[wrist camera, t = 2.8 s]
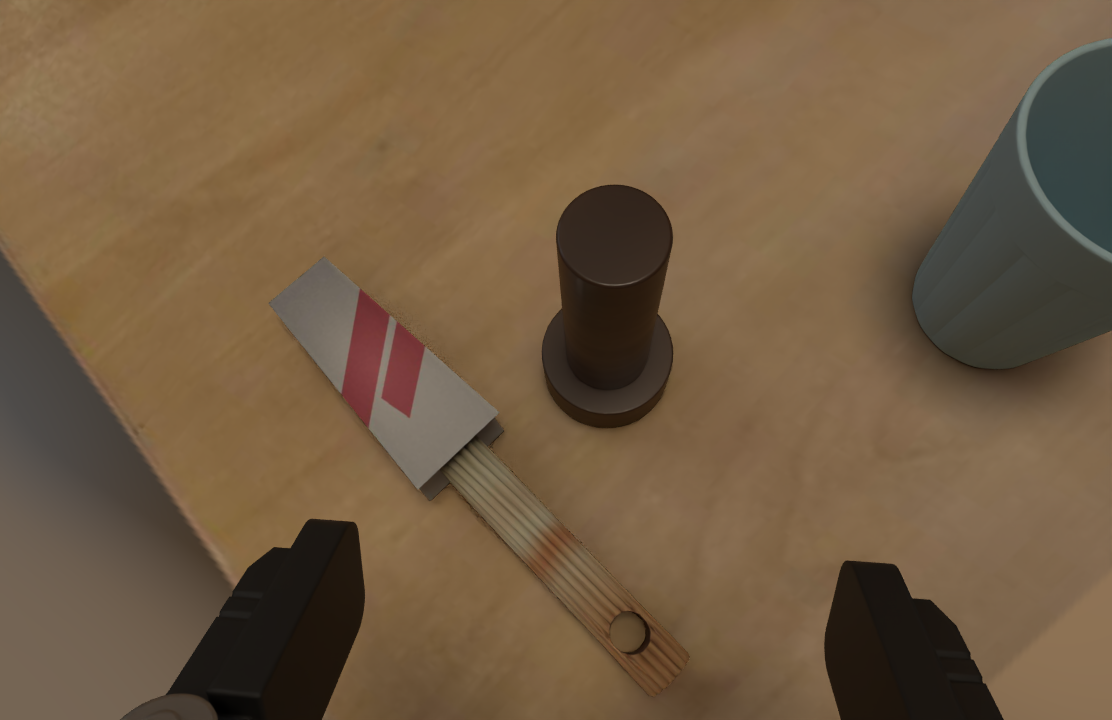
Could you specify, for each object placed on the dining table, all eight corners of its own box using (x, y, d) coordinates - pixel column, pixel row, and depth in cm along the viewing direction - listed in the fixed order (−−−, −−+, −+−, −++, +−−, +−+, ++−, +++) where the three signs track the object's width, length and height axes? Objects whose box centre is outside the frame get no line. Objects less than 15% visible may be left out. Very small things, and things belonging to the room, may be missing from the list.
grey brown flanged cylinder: (690, 349, 30) (742, 206, 20) (627, 451, 29) (647, 355, 19) (586, 290, 31) (584, 125, 21) (520, 387, 30) (484, 262, 20)
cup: (912, 190, 32) (1053, 0, 22) (1102, 254, 31) (1341, 83, 21) (858, 350, 30) (988, 219, 20) (1060, 426, 29) (1303, 325, 19)
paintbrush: (324, 230, 29) (716, 639, 25) (343, 260, 32) (701, 635, 28) (242, 296, 29) (631, 730, 24) (268, 322, 31) (624, 717, 27)
